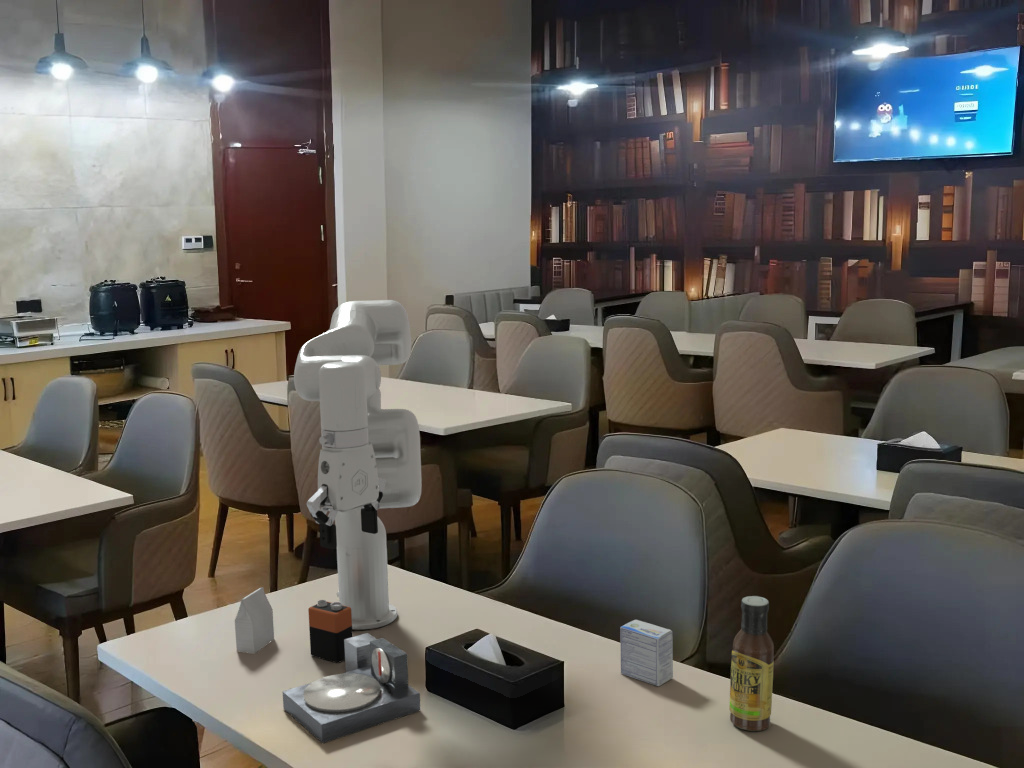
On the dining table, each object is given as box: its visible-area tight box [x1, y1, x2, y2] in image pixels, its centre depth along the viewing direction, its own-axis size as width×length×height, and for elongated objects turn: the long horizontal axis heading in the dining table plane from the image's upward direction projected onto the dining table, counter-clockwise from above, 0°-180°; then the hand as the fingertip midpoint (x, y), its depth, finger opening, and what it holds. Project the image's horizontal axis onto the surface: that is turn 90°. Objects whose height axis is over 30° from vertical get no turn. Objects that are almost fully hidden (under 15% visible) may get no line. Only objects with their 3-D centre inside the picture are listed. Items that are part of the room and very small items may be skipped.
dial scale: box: [282, 637, 421, 744], centre depth 168 cm, size 14×17×9 cm
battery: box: [308, 599, 354, 663], centre depth 189 cm, size 4×7×10 cm, turn 58°
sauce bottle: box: [729, 595, 775, 732], centre depth 160 cm, size 6×6×20 cm
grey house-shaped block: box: [234, 587, 275, 654], centre depth 194 cm, size 4×7×10 cm, turn 161°
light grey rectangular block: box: [344, 632, 378, 673], centre depth 182 cm, size 4×4×6 cm
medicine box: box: [619, 619, 674, 687], centre depth 178 cm, size 8×4×9 cm, turn 47°
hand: (349, 539), depth 175 cm, fingers open, 9 cm apart
